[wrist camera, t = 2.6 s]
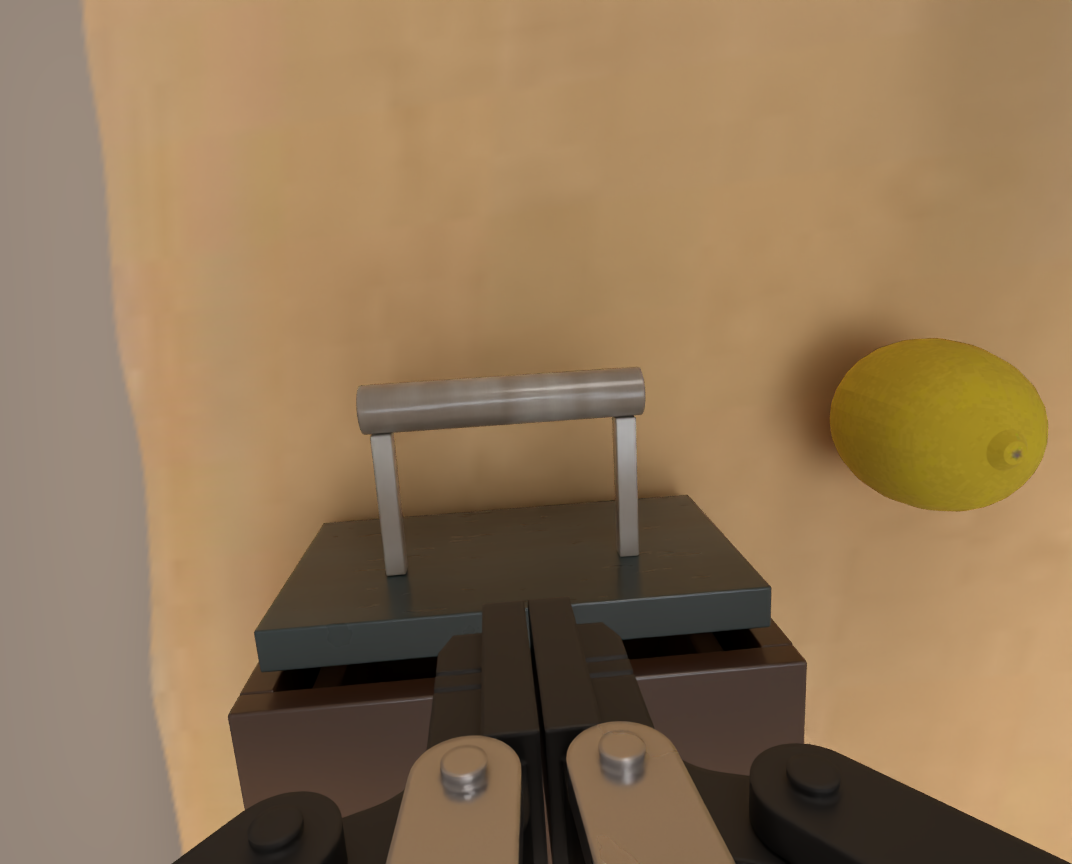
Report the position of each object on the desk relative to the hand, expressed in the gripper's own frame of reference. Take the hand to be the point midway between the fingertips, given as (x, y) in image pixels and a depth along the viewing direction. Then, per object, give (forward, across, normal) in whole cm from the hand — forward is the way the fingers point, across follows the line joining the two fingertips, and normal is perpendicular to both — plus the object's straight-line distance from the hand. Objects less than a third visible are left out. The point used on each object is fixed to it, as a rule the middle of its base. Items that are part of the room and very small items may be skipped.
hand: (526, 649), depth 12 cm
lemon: (+15, -14, -1) cm, 20 cm away
